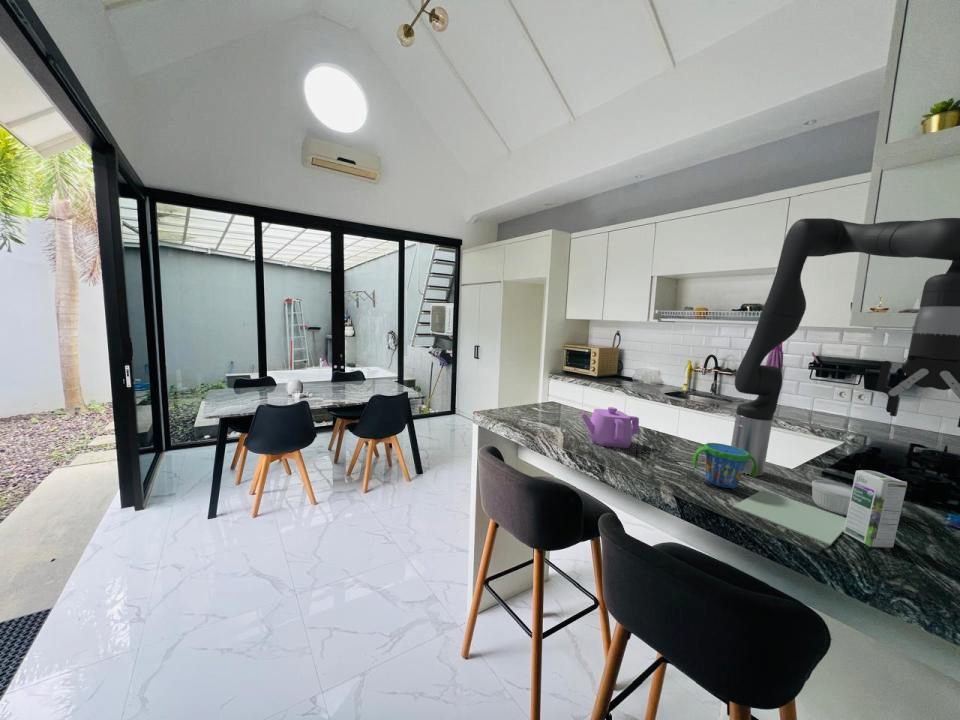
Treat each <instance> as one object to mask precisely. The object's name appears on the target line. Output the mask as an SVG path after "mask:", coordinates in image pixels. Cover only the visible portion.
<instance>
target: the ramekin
mask: <svg viewBox="0 0 960 720" xmlns="http://www.w3.org/2000/svg"><path fill="white" fill-rule="evenodd" d="M811 487H812V494H811V496H812V501H814V503H815V505H816V506H819V508H822V509H824V510H825V511H826V510H827V511H828V512H830V513H833V514H839V515H840V516H841V515H842V516H845V517H847V513H848V508H849V503H850V498H851V493H852V488H853V486H849V485H847V484H843V483H839V482H835V481H830V480H823V479H815V480H812V481H811Z"/></svg>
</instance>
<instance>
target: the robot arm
mask: <svg viewBox="0 0 960 720" xmlns="http://www.w3.org/2000/svg"><path fill="white" fill-rule="evenodd" d="M783 241H784V242H783V245H782V249H781V252H780V256H779V260H778V265H777V268H776V272H775V275H774V278H773V280H772V281H773V282H772V284H771V287H770V289H769V293H768V296H767V298H766V300H765V303H764V305H763V308H762V310H761V313H760V316H759V318H758V322H757V325H756V327H755V331H754V334H753V336H752V338H751V341H750V344H749V345H748V348H747V350H746V352H745V354H744V355H743V358H742V359H741V362H740V364H739V366H738V368H737V371H736V373H735V379H734V387H735V389H736V391H737V392H738V393H741V394H746V395H747V394H748V395H754V396H755V395H756V396H757V397H756V398H755V399H754V400H752V401H750V402H749V401H748V402H744V403H740V404H738V406H737V407H736V412H735V419H734V426H733V432H732V438H731V444H730V446H733V447H737V448H740V449H742V450H745V451H746V452H748V453H749V455H751V456H752V457H753V458H754V459H755V460H756V462H757V474H756V476H755V477H761V475H762V476H763V475H764V472H765V466H766V460H767V454H768V447H769V442H770V437H771V433H772V432H771V430H772V424H773V419H774V415H775V413H776V410H777V407H778V402H779V397H780V394H781V390H782V385H783V373H782V371H781V369H780V368H779V367H778V366H773V365H764V364H762V363H763V361H764V359H765V358H766V357H767V356H768V355H769V354H770V353H771V352H772V351H773V350H775V349H776V348H777V347H779V346H780V345H782V344H783V343H784V342H785V341H787V340H788V339H789V338H791V336H793V335H794V334H795V333H796V332H797V330H798V328H799V326H800V324H801V322H802V319H803V317H804V315H805V312H806V309H807V302H806V301H807V299H806V296H805V291H804V290H803V287H802V281H801V279H802V277H801V276H802V272H803V269H804V265H805V264H806V261H807V259H808V258H809V257H811V258H812V257H813V258H814V257H815V258H816V257H818V258H819V257H827V256H832V255H840V254H846V253H863V254H867V255H870V256H878V257H888V258H889V257H891V258H903V259H904V258H906V259H907V258H922V259H933V260H944V261H952V262H951V264H950V265H949V267H948V269H947V271H946V272H945V273H943V274H942V273H941V274H936V275H933V276H931V277H928V279H926V281H925V283H924V285H923V288H922V294H921V300H920V304H919V309H918V312H917V314H916V316H915V320H914V324H913V326H912V334H911V337H910V339H911V340H910V344H909V348H908V354H907V357H906V360H905V361H904V362H903V363H902V362H896V361H895V362H893V361H891V360H884V361H883V362H882V363H881V366H880V369H879V374H878V377H877V378H878V379H877V381H876V382H877V383H876V387H875V390H876V391H878V392H882V393H884V394H886V395H887V397H888V398H887V402H886V408H885V410H886V412H887V413H889V416H890V417H897V415H898V412H899V406H900V401H901V396H900V395H901V394H902V393H903V392H905V391H906V390H908V389H909V388H911V387H912V386H914V385H915V386H916V387H918V388H924V389H925V388H927V389H928V388H932V389H935V390H940V391H941V390H942V391H946V390H951V391H952V392H953V393H954V394H955V396H957V398H958V399H959V400H960V217H942V218H941V217H940V218H932V219H931V218H930V219H926V220H890V221H883V222H876V223H856V222H850V221H845V220H840V219H835V218H829V217H828V218H821V217H820V218H814V217H813V218H801V219H798V220H796V221H795V222H794V223H793V224H792V225H791V226H790V227H789V229H788V231H787V234H786V235H785V238H784V240H783ZM899 369H901V370H902V371H903V372H904V374H905V375H906V376H907V378H906V379H905V380H903V381H901V382H900V383H898V384H897V385H896V386H894V387H893V388H892V387H890V386H889V382H890V377H891V374H893V373H894V374H895V373H897V371H898V370H899ZM957 428H960V416H959V419H958V422H957ZM753 464H754V463H753V460H752V459H751V458H749V459H748V461H747V462H746V464H745V466H744V469H743V471H742V474H743V473H745V474H744V475H747V474H749V475H748V476H751V475H750V473H751V470H752V467H753Z"/></svg>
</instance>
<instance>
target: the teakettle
mask: <svg viewBox="0 0 960 720" xmlns="http://www.w3.org/2000/svg"><path fill="white" fill-rule="evenodd" d="M580 416H581V418H582V419H583V422H584V423H585V426H586V427H587V430H588V434H589V437H590V439H591V440H592V441H593V442H594V443H595V444H596V445H599V446H602V447H610V448H612V447H613V448H623V449H624V448H626V449H629V448H630V446H631V444H632V437H633V436H634V435H636V434H639V429H640V426H639V424H640V421H639V419H640V418H639V417H638V416H633V415H628V414H627V413H624V412H623V411H620V410H618V408H617V407H611V406H609V407H607V409H603V408H594V409H593V412H592V415H591V417H589V416H588V415H587V413H581V414H580Z"/></svg>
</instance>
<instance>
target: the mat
mask: <svg viewBox="0 0 960 720" xmlns="http://www.w3.org/2000/svg"><path fill="white" fill-rule="evenodd" d="M732 508H733V509H736V510H738V511H740V512H743V513H745V514H748V515H751V516H753V517H756V518H759V519H760V520H764V521H766V522H768V523H771V524H773V525H776V526H778V527H781V528H784V529H787V530H789V531H791V532H794V533H797V534H800V535H802V536H804V537H806V538H810V539H812V540H815V541H817V542H819V543H822V544H824V545H827V546H830V547H831V546H832V545H833V544H834V543H835V541H836V540H837V539H838V538H839V537H840V536H841V535H842V533H844V532H843V531H844V526H845V522H846V518H847V517H844V516H841V515H837V514H836V513H834V512H831V511H828V510H827V511H826V510H825V509H824V510H823V509H821V508H818V507H815V506H811V505H809V504H806V503H802V502H800V501H797V500H794V499H792V498H788V497H786V496H783V495H779V494H777V493H773V492H770V491H768V490H765V489H761V490H760V491H758V492H756V493H754V494H752V495H749V496H748V497H746V498H745V499H743V500H741V501H739V502H737V503H735V504H733V505H732Z"/></svg>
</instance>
